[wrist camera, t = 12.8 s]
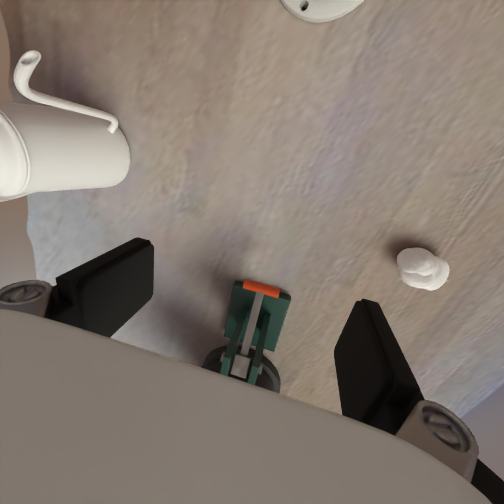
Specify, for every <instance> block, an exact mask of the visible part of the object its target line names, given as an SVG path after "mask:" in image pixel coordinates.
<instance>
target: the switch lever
mask: <svg viewBox="0 0 504 504" xmlns="http://www.w3.org/2000/svg"><path fill="white" fill-rule="evenodd" d="M243 288H244V289H247V290H251V291H254V292H256V295H255V299H254V303H253V307H252V310H251V314H250V318H249V322H248V325H247V329H246V333H245V337H244V341H243V344H242V348H241V349H239V348H238V350H237V352H236V354H235V358H234V362H233V366H232V369H231V374H233V375H236V376H239V377H242V378H246V375H247V371H248V368H249V364H250V360H251V356H252V352H249V349H250V345H251V341H252V337H253V334H254V330H255V326H256V322H257V319H258V315H259V311H260V307H261V303H262V300H263V296H264V294H265V295H268V296H272V297H275V298H278V296H279V292H280V288H278V287H274V286H270V285H267V284H263V283H260V282H256V281H252V280H249V279H245V281H244V284H243Z"/></svg>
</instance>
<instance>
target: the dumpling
mask: <svg viewBox="0 0 504 504" xmlns="http://www.w3.org/2000/svg"><path fill="white" fill-rule="evenodd" d="M397 264H398V267H399V270H398V273H399V276H400V278H401V279H402V280H403V281H404V282H405V283H406V284H408V285H410V286H412V287H417V288H424V289H426V290H435V289H437V288H439V287H440V286H441V285H443V284H444V282H445V281H446V280H447V278H448V274H449V266H448V264H447V262H446V261H445V260H443V259H441V258H440V257H435V256H434V255H433V254H432V253H430V252H429V251H428V250H425V249H423V248H419V247H418V248H417V247H416V248H407V249H404V250H402V251H401V252H400V253H399V254H398V256H397ZM448 281H449V280H447V281H446V282H448Z"/></svg>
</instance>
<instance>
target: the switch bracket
mask: <svg viewBox="0 0 504 504" xmlns="http://www.w3.org/2000/svg"><path fill="white" fill-rule="evenodd" d="M243 284H244V283H241V282H238V281H235V283H234V285H233V290H232V295H231V301H230V306H229V312H228V317H227V322H226V328H225V333H224V336H225V337H228V338H231V339H230V341H229V344H228V346H227V349H226V351H225V352H223V353H222V356H221V360H220V362H222V366H221V371H220V374H222V375H225V376H228V373H229V370H230V367H231V364H232V361H233V359H234V356H235V353H236V350H237V347H238V344H239V341H241V342H243V341H244V337H245V333H246V329H247V325H248V322H249V318H250V314H251V310H252V307H253V303H254V299H255V295H256V292H254V291H251V290H247V289H244V288H243ZM290 300H291V296H288V295H284V294H281V293H279V296H278V298H275V297H272V296H268V295H265V294H264V296H263V300H262V303H261V307H260V311H259V315H258V319H257V322H256V326H255V330H254V334H253V337H252V341H251V345H254V346H257V347H256V351H255V355H254V359H253V363H252V367H251V371H250V375H249V379H248V383H249V384H252V385H255V382H256V378H257V375H258V374H260V375H261V372H262V368H263V364H261V359H262V354H263V349H267V350H270V351H273V352H274V351H275V348H276V345H277V342H278V338H279V335H280V332H281V329H282V326H283V323H284V320H285V316H286V313H287V310H288V307H289V304H290Z"/></svg>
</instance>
